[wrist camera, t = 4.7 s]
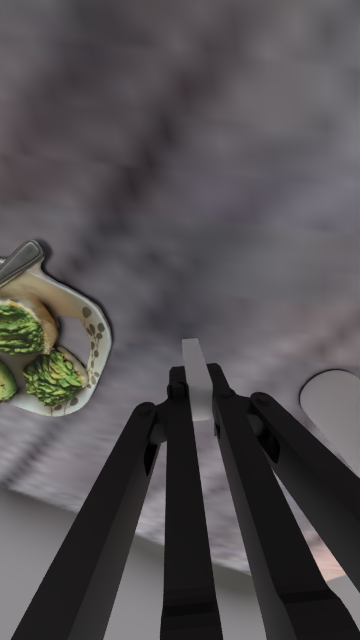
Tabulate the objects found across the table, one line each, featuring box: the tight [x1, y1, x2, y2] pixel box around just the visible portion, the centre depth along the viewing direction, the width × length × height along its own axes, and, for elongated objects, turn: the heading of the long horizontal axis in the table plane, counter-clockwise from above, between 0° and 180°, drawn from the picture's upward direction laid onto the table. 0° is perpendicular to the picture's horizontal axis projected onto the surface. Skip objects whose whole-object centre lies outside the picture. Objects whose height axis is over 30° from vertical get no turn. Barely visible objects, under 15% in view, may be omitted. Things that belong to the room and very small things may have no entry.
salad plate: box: [0, 240, 112, 417], centre depth 17 cm, size 19×18×5 cm
